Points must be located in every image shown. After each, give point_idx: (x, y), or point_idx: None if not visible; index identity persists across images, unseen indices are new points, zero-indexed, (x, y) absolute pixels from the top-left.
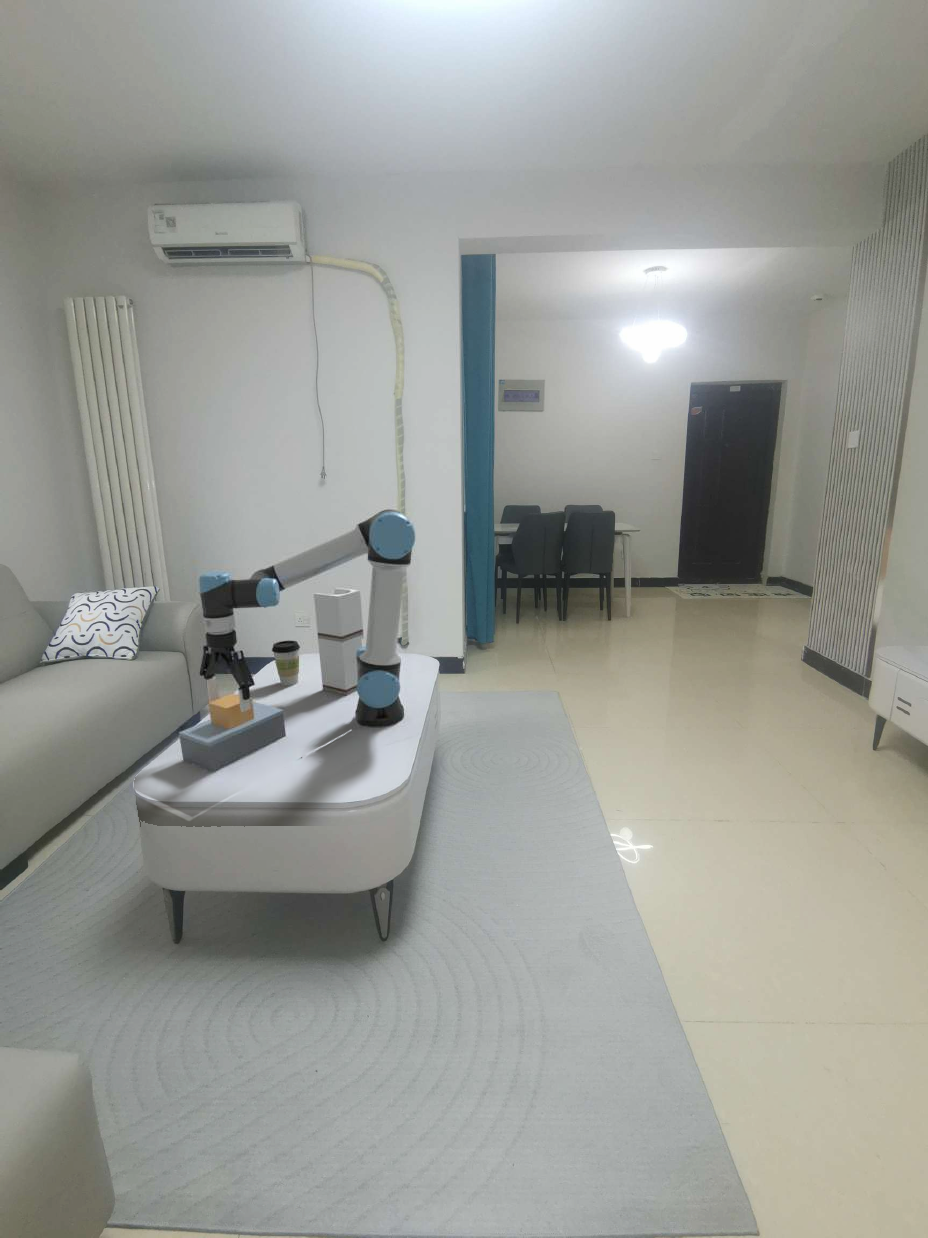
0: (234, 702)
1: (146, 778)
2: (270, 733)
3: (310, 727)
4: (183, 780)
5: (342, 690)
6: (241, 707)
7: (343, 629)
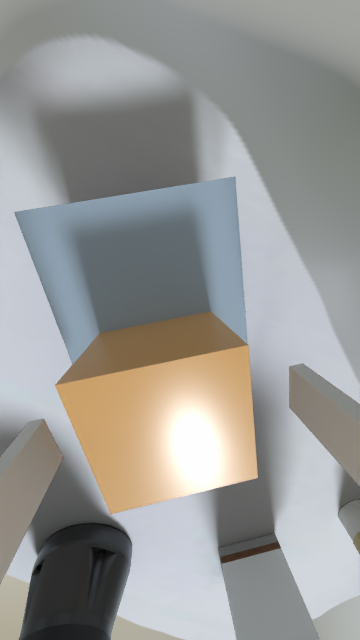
0: (122, 444)
1: (198, 93)
2: None
3: None
4: (107, 164)
5: (229, 557)
6: (12, 445)
7: None
